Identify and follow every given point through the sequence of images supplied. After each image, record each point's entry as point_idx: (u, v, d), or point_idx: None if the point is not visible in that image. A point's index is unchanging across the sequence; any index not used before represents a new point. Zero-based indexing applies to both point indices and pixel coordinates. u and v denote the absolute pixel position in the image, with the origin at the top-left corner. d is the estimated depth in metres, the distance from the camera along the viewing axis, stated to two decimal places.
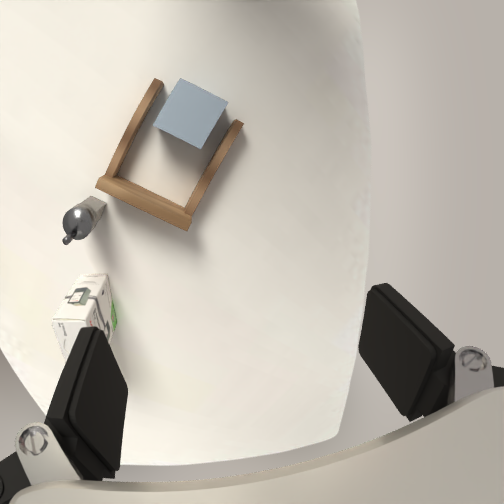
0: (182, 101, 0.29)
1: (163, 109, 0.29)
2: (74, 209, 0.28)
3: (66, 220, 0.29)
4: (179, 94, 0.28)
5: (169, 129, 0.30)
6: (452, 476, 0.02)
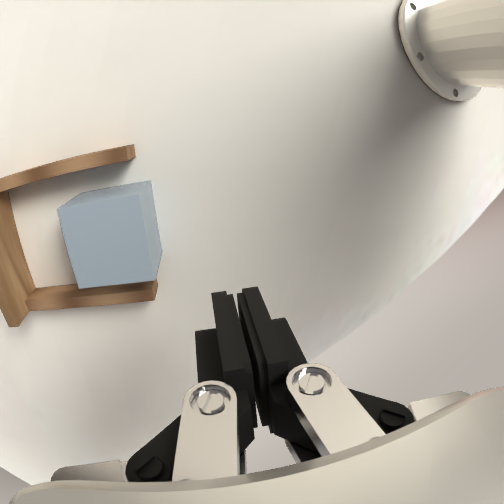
0: (109, 223, 0.18)
1: (83, 206, 0.17)
2: None
3: None
4: (115, 211, 0.18)
5: (68, 235, 0.18)
6: (451, 476, 0.02)
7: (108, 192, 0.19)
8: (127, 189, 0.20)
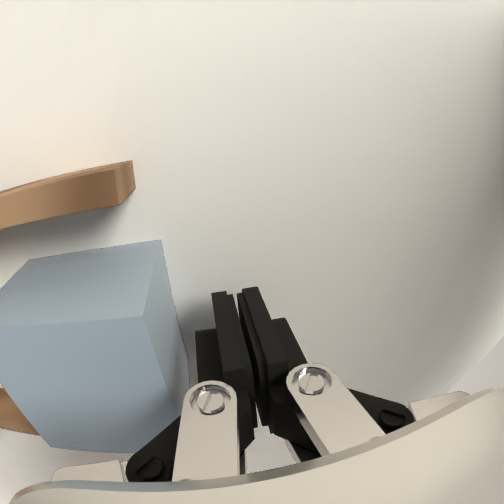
0: (80, 371, 0.07)
1: (14, 332, 0.06)
2: None
3: None
4: (89, 349, 0.06)
5: (3, 376, 0.06)
6: (452, 476, 0.02)
7: (71, 278, 0.08)
8: (111, 274, 0.08)
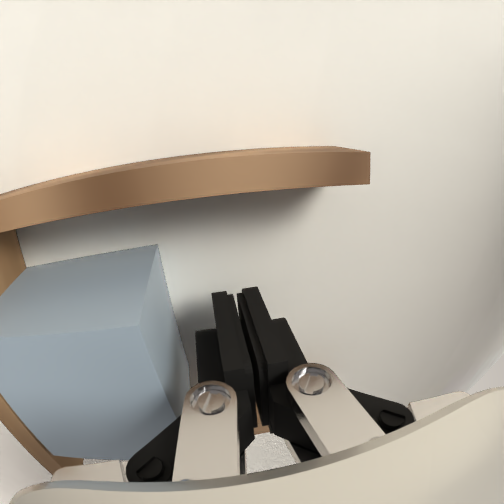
0: (79, 381, 0.06)
1: (11, 343, 0.06)
2: None
3: None
4: (86, 359, 0.06)
5: (3, 386, 0.06)
6: (452, 476, 0.02)
7: (67, 287, 0.08)
8: (107, 282, 0.08)
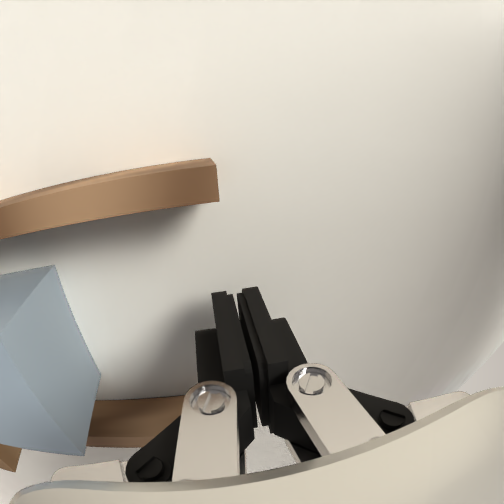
0: None
1: None
2: None
3: None
4: None
5: None
6: (452, 476, 0.02)
7: None
8: (4, 298, 0.08)
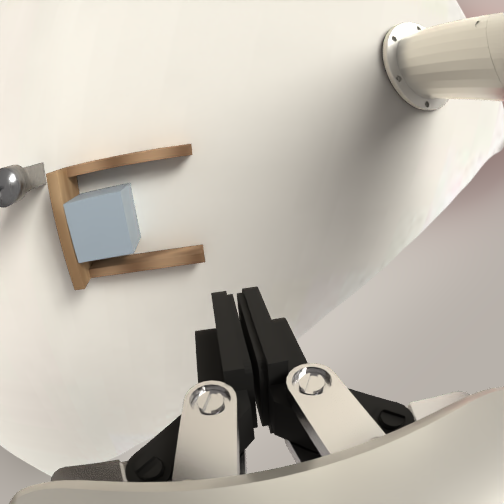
0: (100, 213, 0.25)
1: (82, 201, 0.24)
2: (12, 175, 0.19)
3: None
4: (104, 204, 0.25)
5: (71, 222, 0.25)
6: (451, 475, 0.02)
7: (99, 192, 0.27)
8: (113, 189, 0.27)
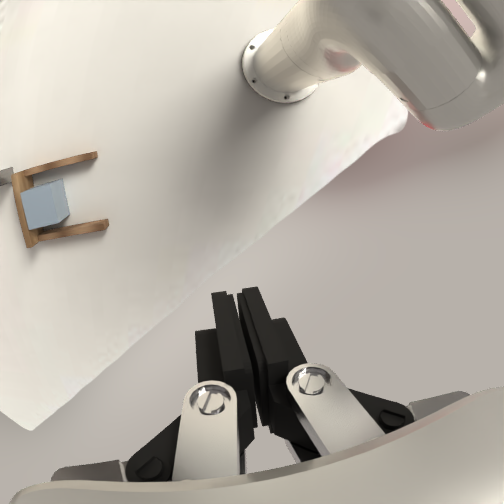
0: (40, 198, 0.36)
1: (30, 191, 0.35)
2: None
3: None
4: (42, 192, 0.36)
5: (24, 204, 0.36)
6: (452, 476, 0.02)
7: (42, 185, 0.37)
8: (49, 183, 0.38)
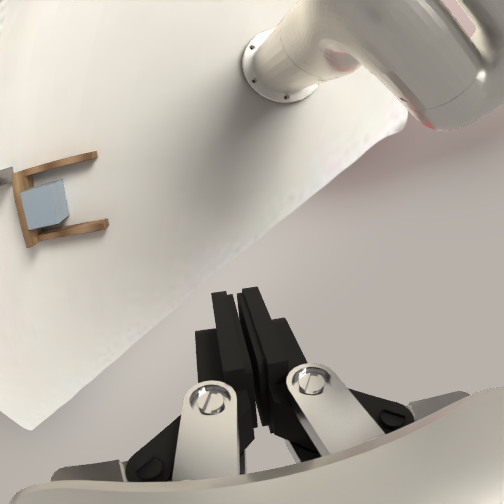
0: (40, 198, 0.36)
1: (30, 191, 0.35)
2: None
3: None
4: (42, 192, 0.36)
5: (24, 204, 0.36)
6: (451, 475, 0.02)
7: (42, 185, 0.37)
8: (49, 183, 0.38)
